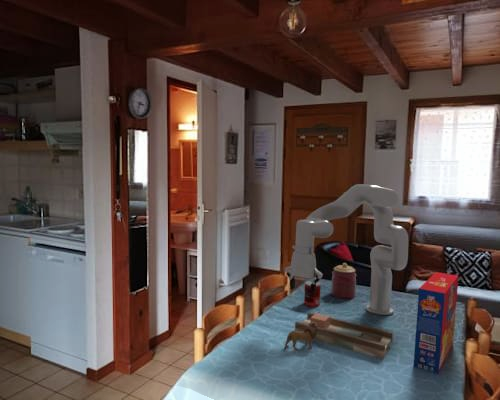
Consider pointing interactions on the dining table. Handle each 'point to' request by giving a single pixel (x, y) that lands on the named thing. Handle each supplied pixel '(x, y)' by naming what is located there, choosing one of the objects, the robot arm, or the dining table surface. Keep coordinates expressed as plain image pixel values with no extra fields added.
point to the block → (321, 320)
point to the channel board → (352, 336)
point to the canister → (344, 282)
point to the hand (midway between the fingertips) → (302, 290)
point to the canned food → (312, 295)
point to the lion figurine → (303, 335)
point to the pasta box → (435, 321)
